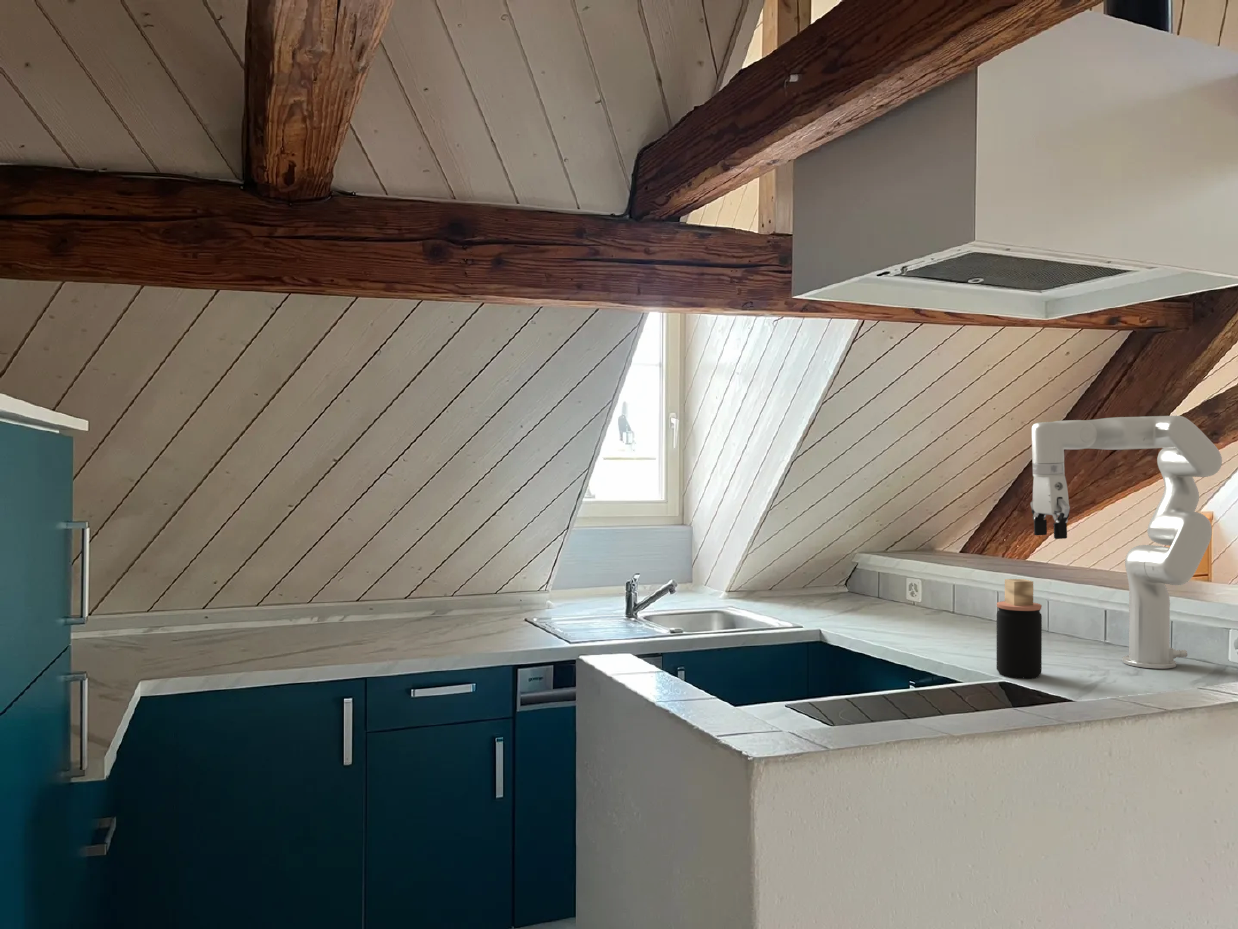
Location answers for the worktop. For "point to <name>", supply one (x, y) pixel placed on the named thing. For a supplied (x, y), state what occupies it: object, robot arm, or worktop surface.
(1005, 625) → the coffee jar
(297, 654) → the worktop surface
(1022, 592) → the oak block
